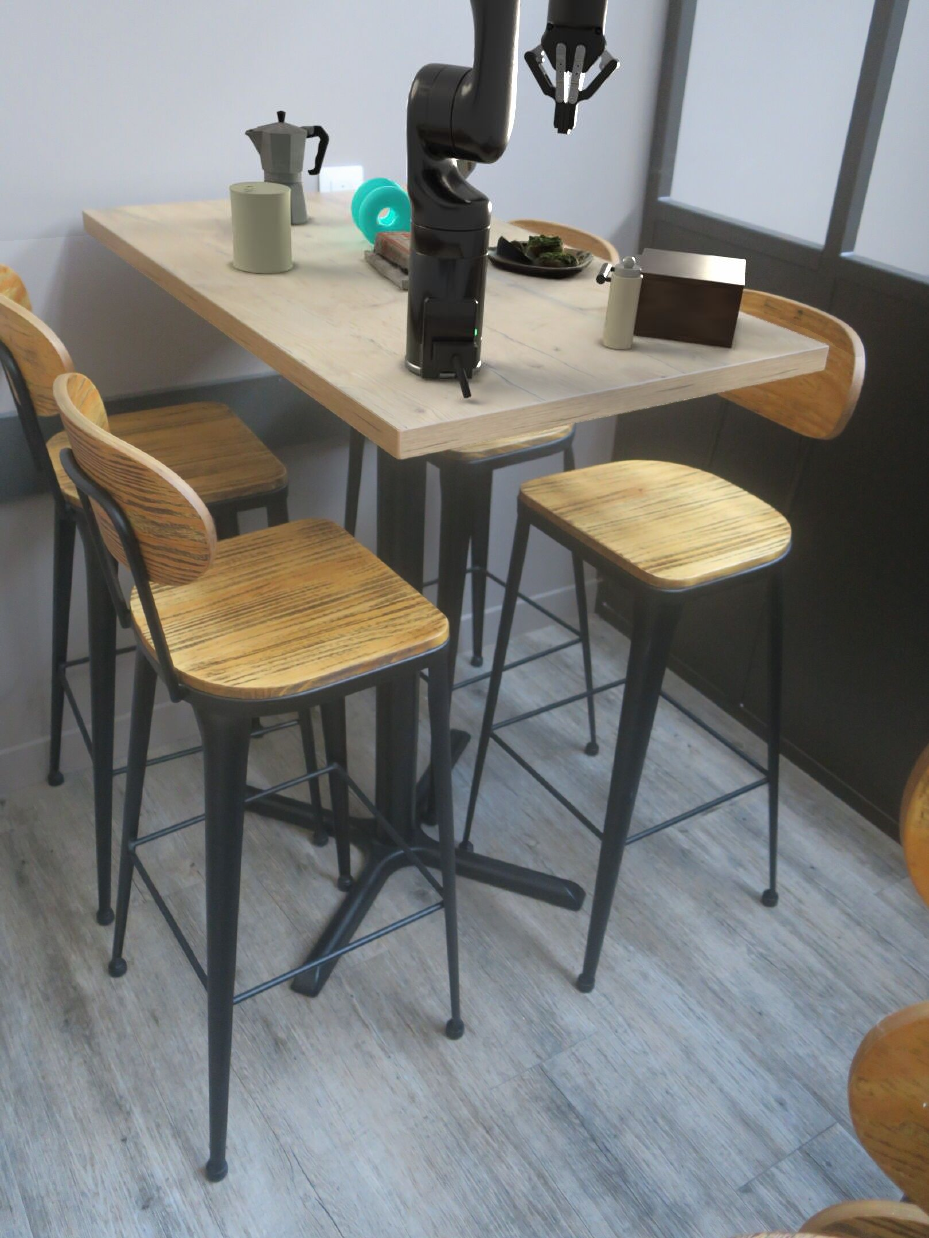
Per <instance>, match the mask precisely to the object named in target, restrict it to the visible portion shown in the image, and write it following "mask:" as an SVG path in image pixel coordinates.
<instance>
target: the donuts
mask: <svg viewBox="0 0 929 1238" xmlns="http://www.w3.org/2000/svg"><path fill="white" fill-rule="evenodd" d="M350 204H351V205H350V212H351V217H352V220H353V222H354V224H355V226H356V228H357V229H358V230H359V231H360V232H361V233H362V235H363V237H364V238H365V240H367V242H368V243H370V244H371V245H373V246H374V243H375V237H376V233H379V232H392V231H394V232H396V231H406V232H409V233H410V229H411V205H410V201H409V197H408V193H407V192H406V191H405V190H404V189H403V188H402V187H401V186H400V185H399V184H398V183H396V182H395V181H394V180H392V179H390V178H386V177H374V178H371V179H368V180H366V181H364V182H363V183H361V184H360V185H359V186H358V187H357V189H356V191H355V192H354V194H353V196H352V199H351V203H350ZM384 209H388V212H387V214H386V215H385V216H384V217H380V213H381V212H382V211H383V210H384Z"/></svg>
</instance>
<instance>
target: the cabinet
mask: <svg viewBox="0 0 929 1238" xmlns="http://www.w3.org/2000/svg"><path fill="white" fill-rule="evenodd" d="M640 255H641V258H640V261H639V263H638V266H640V267H641V275H642V282H641V289H640V295H639V302H638V308H637V315H636V321H635V328H634V334H633V336H637V337H645V338H653V339H659V340H666V341H667V340H668V341H676V342H683V343H689V344H698V345H705V346H711V347H719V348H720V347H721V348H728V349H732V347H733V342H734V337H735V332H736V329H737V328H736V327H737V323H738V318H739V314H740V309H741V303H742V298H743V294H744V289H745V279H746V278H745V276H746V275H745V273H746V259H742V258H741V259H740V258H733V257H724V256H718V255H717V256H716V255H708V254H699V253H691V252H682V251H675V250H668V249H667V250H666V249H658V248H649V247H644V248H643V251H642V253H641V254H640Z"/></svg>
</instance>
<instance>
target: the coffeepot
mask: <svg viewBox="0 0 929 1238" xmlns="http://www.w3.org/2000/svg"><path fill="white" fill-rule="evenodd" d="M286 114H287V112H286V111H284V110H278V111H276V116H277V121H275V122H271V123H268V124H263V125H258V126H256V127H255V128H248V129H247V130H246V131H245V132H244V135H245V136H246V137H248V138H249V140H250V141H251V143H252V145H253V147H254V148H255V150H256V152H257V153H258V155H259V160H260V165H261V170H262V171H263V182H270V183H277V184H282V185H285V186H288V187H289V188H290V189H291V192H290V212H291V226H293V225H300V224H304V223H308V221H309V213H308V207H307V201H306V195H305V189H304V184H303V183H304V182H303V179H302V178H303V176H302V173H303V169H304V161H305V154H306V153H305V151H306V144H307V140H308V139H313V138H317V137H318V138H319V141H318V145H317V152H316V155H315V157H314V167H313V168H311V169H307V173H308V175H309V176H317V175H320V173H321V171H322V166H323V163H324V159H325V156H326V153H327V149H328V146H329V144H330V136H329V134H328V132H327V131H326V130H325V129H324V128H323V126H322V125H317V124H316V125H301V126H298V125H295V124H291V123H288V122H286Z"/></svg>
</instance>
